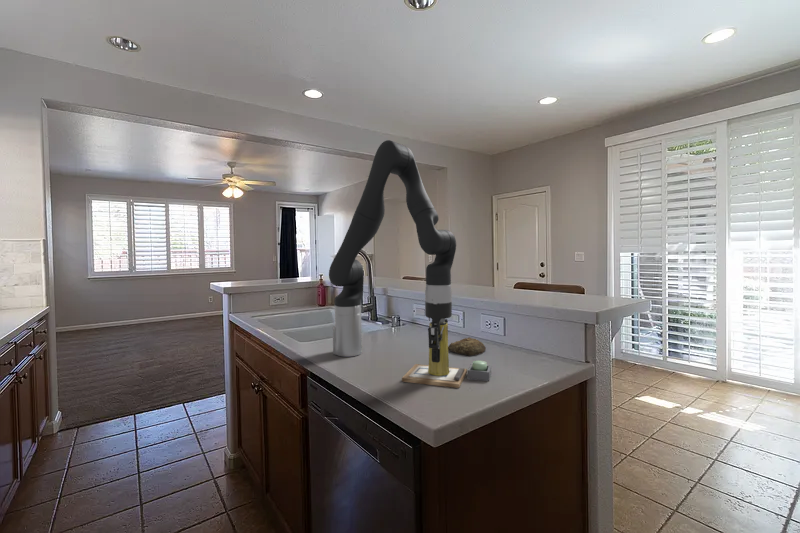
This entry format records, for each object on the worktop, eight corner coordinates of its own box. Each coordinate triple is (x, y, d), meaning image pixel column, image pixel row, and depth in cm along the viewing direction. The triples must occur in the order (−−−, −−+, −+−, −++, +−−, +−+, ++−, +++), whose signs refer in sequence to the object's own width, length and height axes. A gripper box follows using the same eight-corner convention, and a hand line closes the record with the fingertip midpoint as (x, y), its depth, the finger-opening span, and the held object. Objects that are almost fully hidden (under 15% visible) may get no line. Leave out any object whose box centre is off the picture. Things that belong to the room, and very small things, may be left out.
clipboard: (401, 381, 104) (401, 374, 104) (415, 367, 117) (415, 361, 117) (459, 388, 99) (459, 380, 99) (467, 372, 111) (467, 366, 111)
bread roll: (469, 358, 126) (469, 343, 126) (443, 350, 136) (443, 337, 136) (493, 351, 134) (493, 337, 134) (466, 344, 144) (466, 331, 144)
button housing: (467, 378, 106) (467, 370, 106) (470, 372, 112) (470, 363, 111) (489, 381, 104) (489, 372, 104) (491, 374, 110) (491, 365, 109)
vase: (448, 376, 104) (448, 325, 103) (426, 375, 105) (426, 325, 104) (450, 369, 110) (450, 321, 109) (429, 368, 111) (429, 320, 110)
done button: (471, 371, 106) (471, 364, 106) (473, 366, 110) (473, 360, 110) (485, 372, 105) (485, 365, 105) (487, 368, 109) (487, 361, 109)
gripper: (431, 296, 115) (432, 351, 115) (418, 303, 101) (418, 365, 102) (456, 297, 112) (456, 353, 113) (445, 304, 99) (446, 367, 99)
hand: (438, 358), depth 107 cm, fingers closed on vase, 5 cm apart
